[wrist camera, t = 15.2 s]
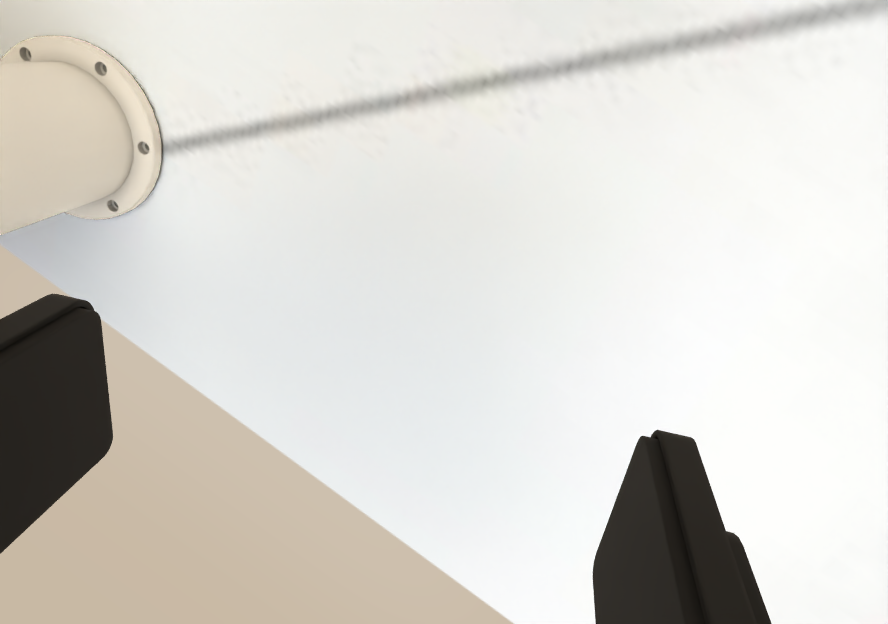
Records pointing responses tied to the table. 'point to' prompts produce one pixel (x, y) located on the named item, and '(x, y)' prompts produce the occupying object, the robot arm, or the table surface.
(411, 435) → the table surface
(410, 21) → the table surface
